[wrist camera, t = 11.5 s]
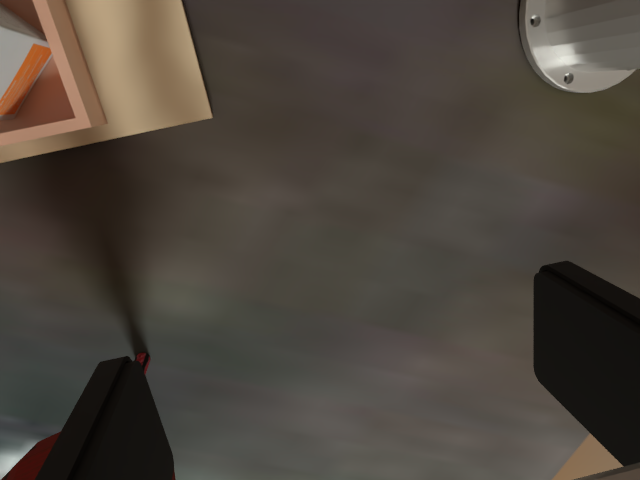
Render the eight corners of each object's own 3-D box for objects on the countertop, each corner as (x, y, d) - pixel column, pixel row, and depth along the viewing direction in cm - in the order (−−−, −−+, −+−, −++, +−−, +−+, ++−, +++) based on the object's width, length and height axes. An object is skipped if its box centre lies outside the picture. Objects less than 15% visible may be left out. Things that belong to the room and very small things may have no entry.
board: (163, -69, 29) (160, -75, 28) (213, 117, 33) (212, 117, 32) (-96, -26, 28) (-110, -31, 27) (-11, 164, 32) (-20, 167, 31)
